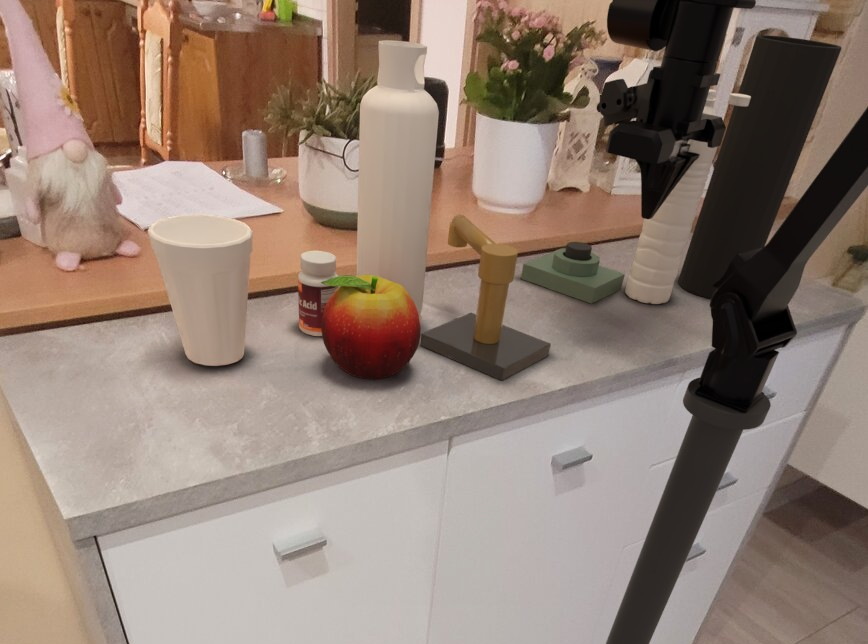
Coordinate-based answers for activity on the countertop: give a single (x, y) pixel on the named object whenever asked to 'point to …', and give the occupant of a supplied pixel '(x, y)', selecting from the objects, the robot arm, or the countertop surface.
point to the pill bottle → (314, 289)
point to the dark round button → (578, 251)
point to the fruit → (370, 326)
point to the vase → (757, 154)
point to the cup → (206, 282)
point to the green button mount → (573, 276)
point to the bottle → (396, 170)
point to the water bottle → (673, 224)
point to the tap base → (482, 353)
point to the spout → (484, 251)
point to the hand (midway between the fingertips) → (646, 218)
